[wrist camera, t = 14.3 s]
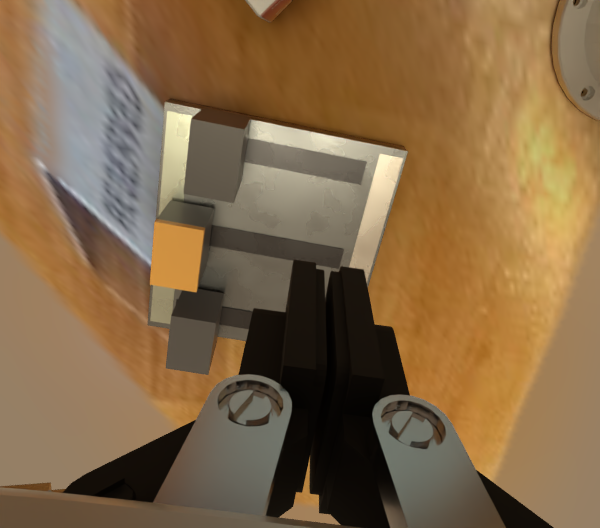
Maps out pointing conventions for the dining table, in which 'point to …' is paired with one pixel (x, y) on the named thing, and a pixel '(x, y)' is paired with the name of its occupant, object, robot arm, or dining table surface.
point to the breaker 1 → (216, 154)
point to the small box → (268, 8)
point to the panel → (280, 211)
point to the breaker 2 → (194, 331)
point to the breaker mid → (181, 246)
